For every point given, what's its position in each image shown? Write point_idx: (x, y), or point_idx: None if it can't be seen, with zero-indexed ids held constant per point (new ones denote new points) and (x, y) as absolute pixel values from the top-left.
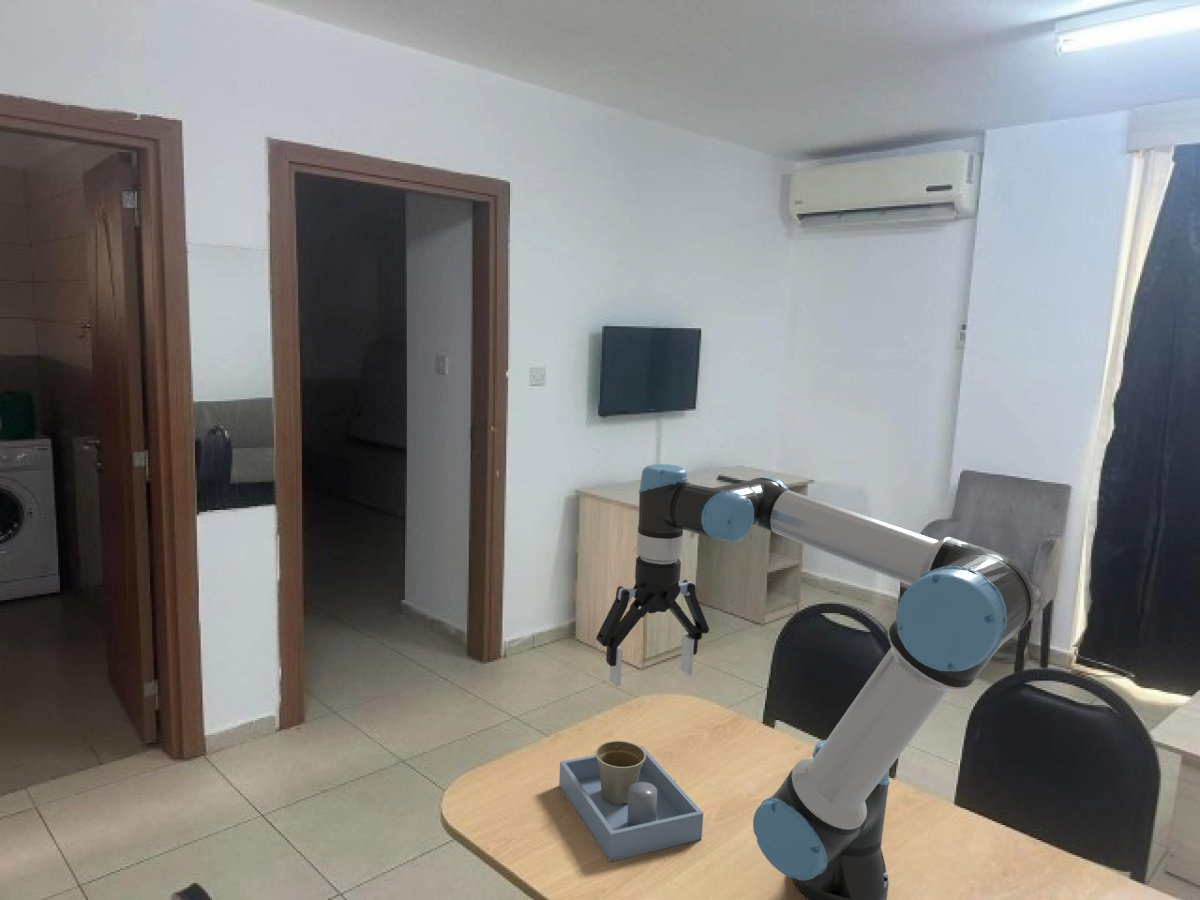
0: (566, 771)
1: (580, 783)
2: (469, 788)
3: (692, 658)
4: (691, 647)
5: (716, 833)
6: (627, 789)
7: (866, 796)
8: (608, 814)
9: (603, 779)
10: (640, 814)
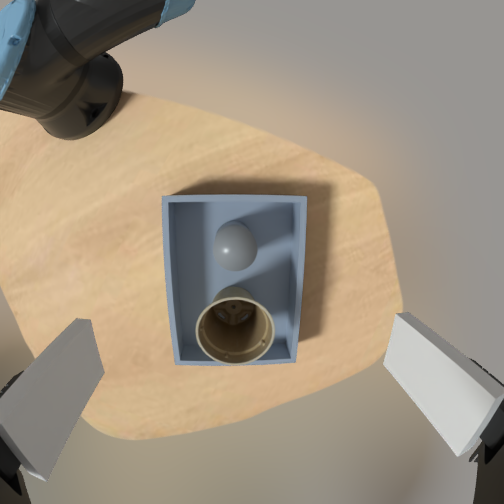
0: (297, 343)
1: None
2: (371, 357)
3: (41, 355)
4: (18, 391)
5: (147, 200)
6: (233, 291)
7: None
8: (262, 274)
9: (261, 313)
10: (245, 227)
